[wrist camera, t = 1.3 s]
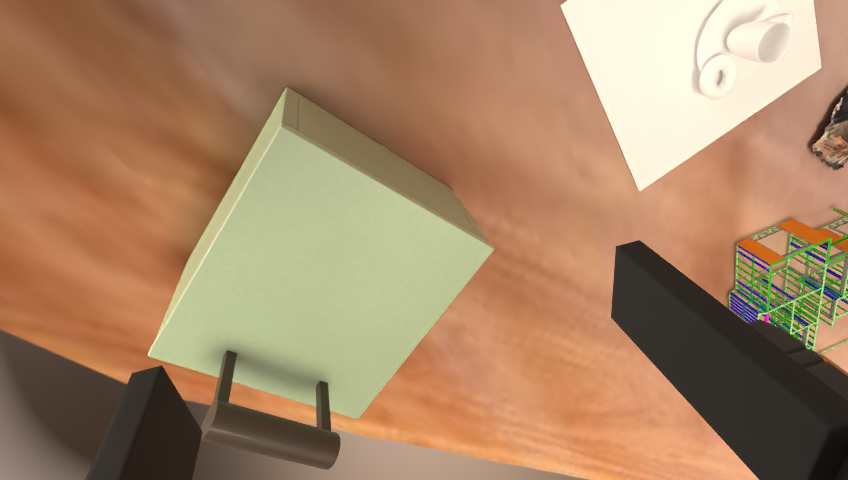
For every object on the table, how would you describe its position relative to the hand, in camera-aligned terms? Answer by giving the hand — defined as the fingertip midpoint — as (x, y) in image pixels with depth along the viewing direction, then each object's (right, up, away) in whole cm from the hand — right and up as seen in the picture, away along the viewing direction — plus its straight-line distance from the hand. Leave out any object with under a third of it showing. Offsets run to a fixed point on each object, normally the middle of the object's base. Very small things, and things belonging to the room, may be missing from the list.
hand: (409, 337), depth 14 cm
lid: (-6, -1, +18) cm, 20 cm away
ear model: (+24, +20, +27) cm, 41 cm away
